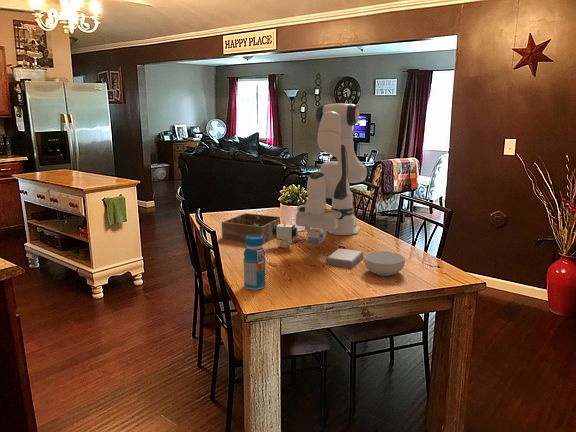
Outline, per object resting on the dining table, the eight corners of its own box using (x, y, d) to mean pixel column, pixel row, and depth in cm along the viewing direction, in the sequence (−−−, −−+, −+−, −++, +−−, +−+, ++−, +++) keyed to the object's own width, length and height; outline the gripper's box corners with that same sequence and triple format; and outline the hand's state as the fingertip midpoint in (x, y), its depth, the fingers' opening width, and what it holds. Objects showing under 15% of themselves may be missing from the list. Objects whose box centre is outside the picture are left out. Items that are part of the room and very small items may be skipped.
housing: (314, 238, 228) (314, 226, 227) (324, 239, 226) (324, 227, 225) (308, 243, 222) (308, 230, 220) (318, 244, 219) (318, 232, 218)
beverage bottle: (243, 290, 179) (242, 239, 175) (244, 282, 188) (243, 233, 183) (265, 290, 180) (265, 239, 175) (265, 282, 188) (265, 233, 183)
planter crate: (245, 228, 270) (245, 213, 268) (283, 233, 260) (283, 217, 258) (222, 238, 249) (221, 222, 247) (262, 244, 239) (261, 227, 237)
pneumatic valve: (295, 248, 232) (295, 225, 229) (272, 247, 234) (272, 223, 231) (297, 245, 237) (297, 222, 234) (275, 244, 239) (274, 221, 237)
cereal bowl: (372, 263, 210) (373, 248, 208) (409, 270, 202) (410, 254, 200) (357, 275, 196) (358, 259, 194) (396, 283, 187) (397, 266, 186)
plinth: (338, 253, 224) (338, 247, 223) (362, 257, 219) (363, 251, 218) (325, 263, 210) (326, 257, 209) (351, 267, 205) (352, 261, 204)
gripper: (340, 208, 218) (339, 237, 222) (299, 204, 227) (299, 232, 230) (335, 211, 213) (334, 241, 216) (294, 207, 221) (294, 235, 225)
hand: (316, 236), depth 223 cm, fingers closed on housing, 5 cm apart
